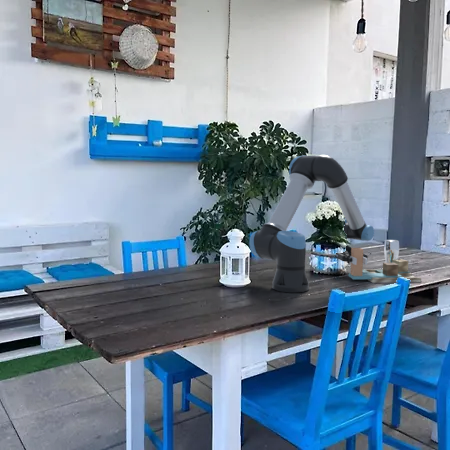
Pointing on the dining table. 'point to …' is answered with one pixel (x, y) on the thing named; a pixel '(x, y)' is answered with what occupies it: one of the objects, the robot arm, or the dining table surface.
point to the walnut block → (390, 269)
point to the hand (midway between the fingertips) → (361, 261)
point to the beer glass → (391, 250)
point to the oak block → (401, 265)
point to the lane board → (390, 280)
